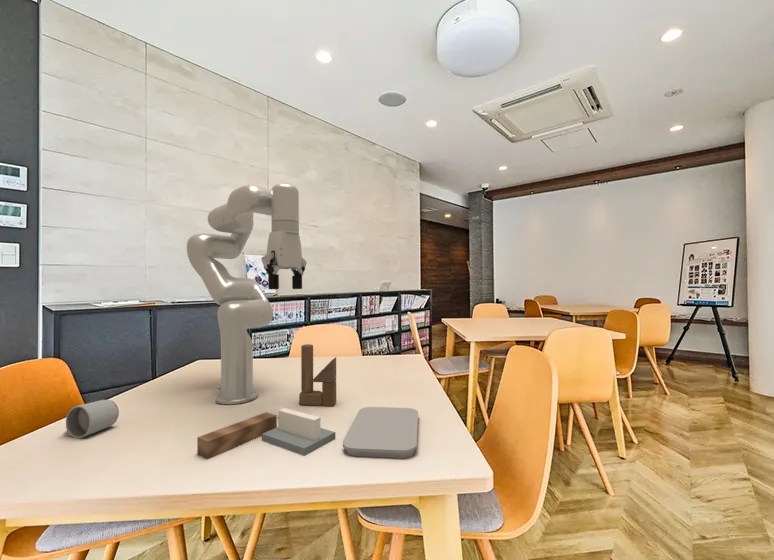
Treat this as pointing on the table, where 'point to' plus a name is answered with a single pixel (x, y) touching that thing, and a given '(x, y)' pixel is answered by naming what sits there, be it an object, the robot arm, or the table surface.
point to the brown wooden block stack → (325, 376)
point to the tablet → (383, 432)
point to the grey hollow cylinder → (91, 418)
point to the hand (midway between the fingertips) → (285, 289)
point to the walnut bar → (235, 435)
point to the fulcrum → (298, 432)
